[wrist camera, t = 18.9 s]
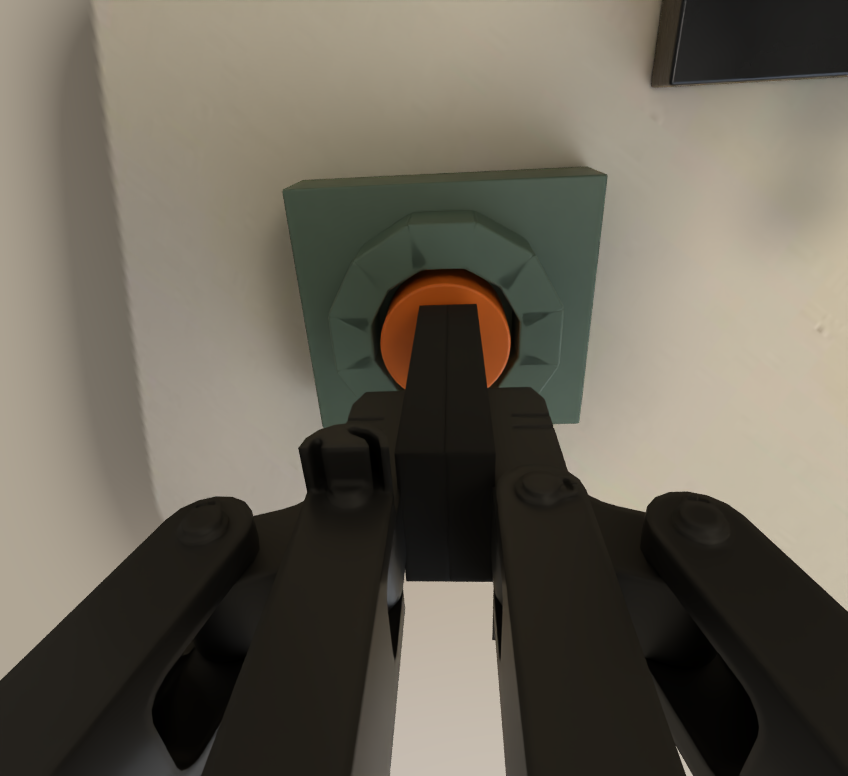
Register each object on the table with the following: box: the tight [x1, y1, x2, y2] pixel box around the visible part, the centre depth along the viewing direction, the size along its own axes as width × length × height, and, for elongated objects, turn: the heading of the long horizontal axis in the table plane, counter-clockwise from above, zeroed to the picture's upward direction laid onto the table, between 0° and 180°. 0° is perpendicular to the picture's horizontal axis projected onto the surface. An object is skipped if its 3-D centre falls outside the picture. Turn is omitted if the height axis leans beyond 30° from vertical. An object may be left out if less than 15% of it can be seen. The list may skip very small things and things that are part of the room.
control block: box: [282, 167, 607, 428], centre depth 16 cm, size 9×8×4 cm
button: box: [380, 269, 511, 389], centre depth 15 cm, size 4×4×2 cm
